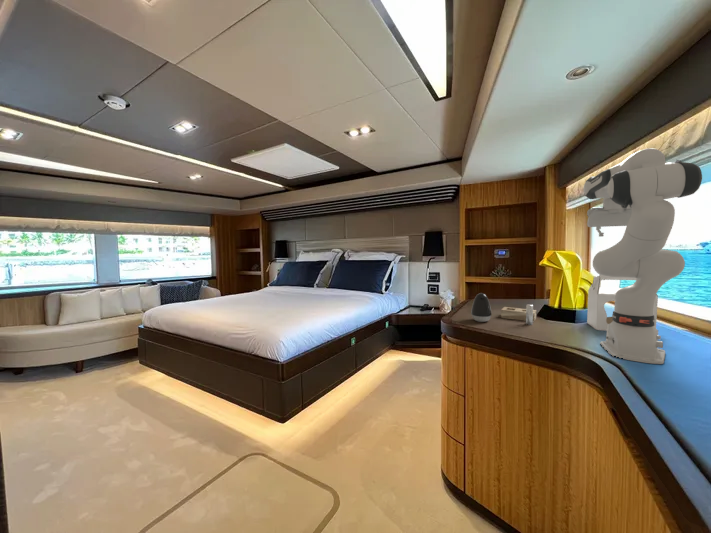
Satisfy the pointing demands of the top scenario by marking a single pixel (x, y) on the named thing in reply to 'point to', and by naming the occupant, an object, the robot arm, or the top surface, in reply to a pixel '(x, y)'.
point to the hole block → (515, 313)
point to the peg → (529, 314)
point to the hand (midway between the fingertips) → (613, 236)
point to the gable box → (600, 297)
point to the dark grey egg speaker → (481, 308)
